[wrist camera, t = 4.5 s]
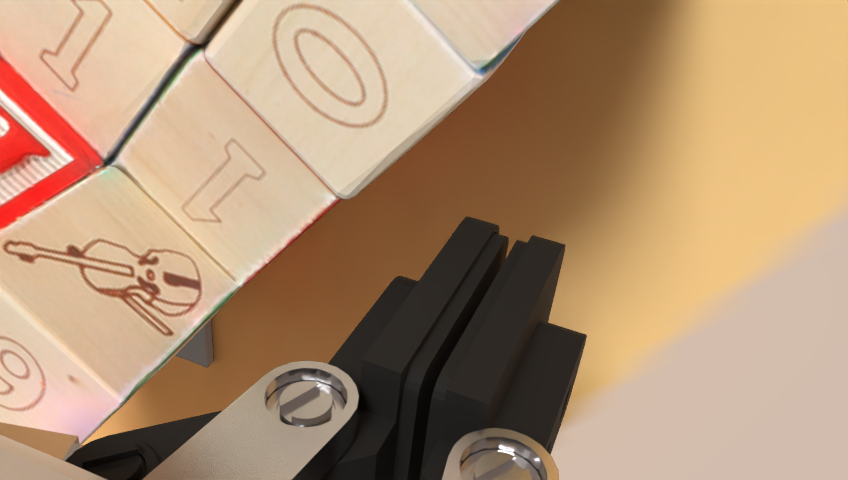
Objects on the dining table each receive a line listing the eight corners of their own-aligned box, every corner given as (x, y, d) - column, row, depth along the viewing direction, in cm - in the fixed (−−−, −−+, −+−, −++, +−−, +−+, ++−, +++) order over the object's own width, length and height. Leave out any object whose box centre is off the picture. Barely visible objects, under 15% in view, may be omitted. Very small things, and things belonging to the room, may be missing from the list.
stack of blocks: (519, -428, 15) (24, -828, 5) (727, -162, 16) (674, -33, 6) (71, 183, 27) (-326, 426, 17) (202, 312, 28) (-104, 613, 18)
